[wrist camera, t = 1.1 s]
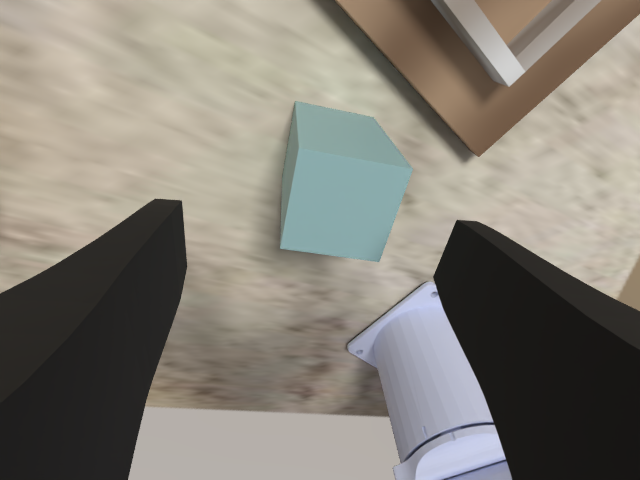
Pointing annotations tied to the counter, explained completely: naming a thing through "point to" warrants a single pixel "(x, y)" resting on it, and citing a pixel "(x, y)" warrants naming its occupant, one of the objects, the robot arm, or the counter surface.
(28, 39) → the counter surface
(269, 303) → the counter surface
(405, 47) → the socket
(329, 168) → the square peg
